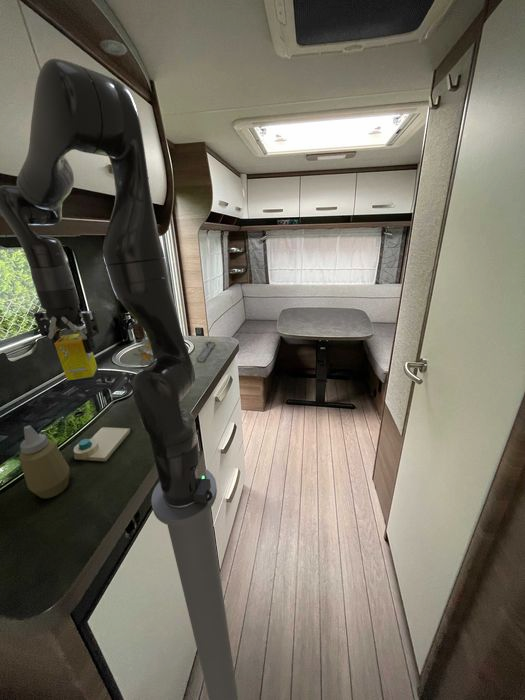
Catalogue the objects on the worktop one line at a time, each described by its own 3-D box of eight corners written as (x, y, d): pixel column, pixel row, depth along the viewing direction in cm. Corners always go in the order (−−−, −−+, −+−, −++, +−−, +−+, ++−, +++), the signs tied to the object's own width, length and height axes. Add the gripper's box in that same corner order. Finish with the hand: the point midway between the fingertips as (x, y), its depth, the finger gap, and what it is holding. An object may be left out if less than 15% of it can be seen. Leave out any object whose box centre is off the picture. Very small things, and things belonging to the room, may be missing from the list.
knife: (192, 361, 130) (203, 361, 129) (192, 361, 130) (203, 361, 129) (207, 342, 153) (216, 342, 152) (207, 341, 153) (216, 341, 152)
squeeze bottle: (78, 487, 66) (53, 426, 59) (36, 510, 61) (4, 446, 54) (69, 469, 71) (46, 411, 64) (30, 488, 66) (0, 427, 59)
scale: (102, 430, 86) (100, 422, 85) (130, 431, 85) (128, 423, 84) (71, 461, 74) (68, 452, 73) (104, 463, 73) (101, 454, 72)
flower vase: (140, 410, 95) (124, 342, 85) (160, 383, 112) (148, 324, 102) (178, 410, 94) (166, 342, 84) (192, 383, 111) (183, 323, 101)
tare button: (84, 443, 77) (83, 438, 76) (93, 443, 76) (91, 438, 76) (78, 450, 74) (76, 445, 74) (86, 450, 74) (85, 445, 73)
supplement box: (73, 373, 75) (61, 335, 70) (98, 369, 76) (87, 332, 72) (67, 383, 70) (53, 343, 65) (93, 379, 71) (81, 339, 67)
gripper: (12, 289, 61) (38, 357, 68) (72, 289, 60) (92, 358, 66) (41, 283, 68) (61, 345, 75) (95, 283, 67) (111, 346, 73)
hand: (76, 351), depth 70 cm, fingers closed on supplement box, 7 cm apart
